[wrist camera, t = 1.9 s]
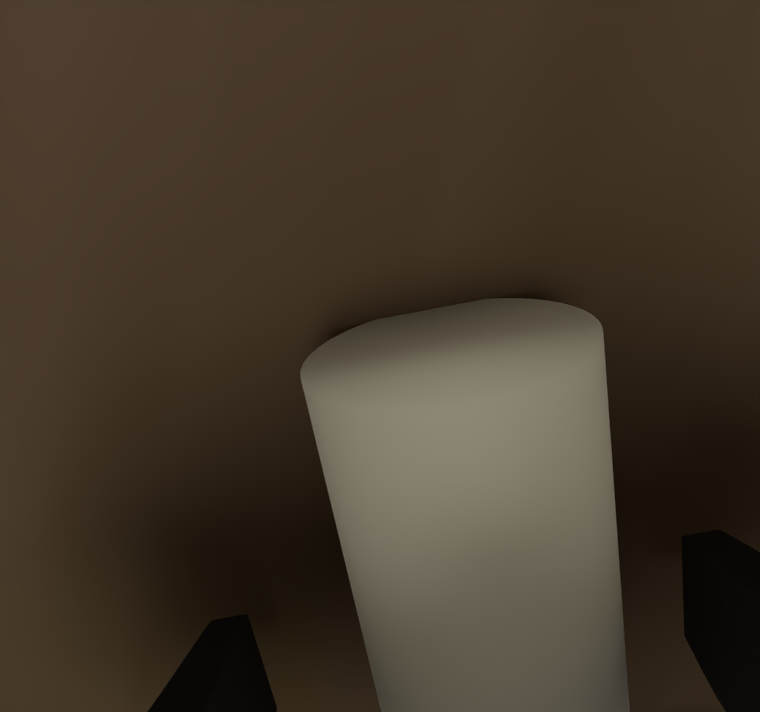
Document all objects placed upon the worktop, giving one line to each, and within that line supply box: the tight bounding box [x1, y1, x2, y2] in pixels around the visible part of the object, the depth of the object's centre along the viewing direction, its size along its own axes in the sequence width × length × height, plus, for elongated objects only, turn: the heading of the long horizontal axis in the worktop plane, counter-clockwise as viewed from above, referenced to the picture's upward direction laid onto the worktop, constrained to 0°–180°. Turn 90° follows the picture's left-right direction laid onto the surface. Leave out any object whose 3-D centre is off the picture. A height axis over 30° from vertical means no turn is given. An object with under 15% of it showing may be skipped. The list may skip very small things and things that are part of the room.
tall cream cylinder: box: [300, 298, 630, 712], centre depth 10 cm, size 12×4×4 cm, turn 10°
